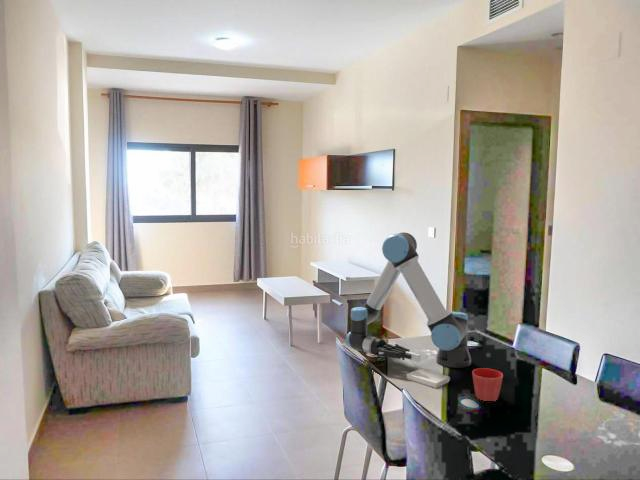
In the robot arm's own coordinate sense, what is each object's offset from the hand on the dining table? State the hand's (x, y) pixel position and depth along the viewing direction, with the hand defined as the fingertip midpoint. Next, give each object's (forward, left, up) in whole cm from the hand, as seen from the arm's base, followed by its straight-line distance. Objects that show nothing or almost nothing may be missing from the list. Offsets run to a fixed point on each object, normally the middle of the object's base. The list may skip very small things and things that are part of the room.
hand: (419, 358), depth 210 cm
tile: (+2, -1, -7) cm, 8 cm away
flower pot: (-23, +20, -8) cm, 31 cm away
